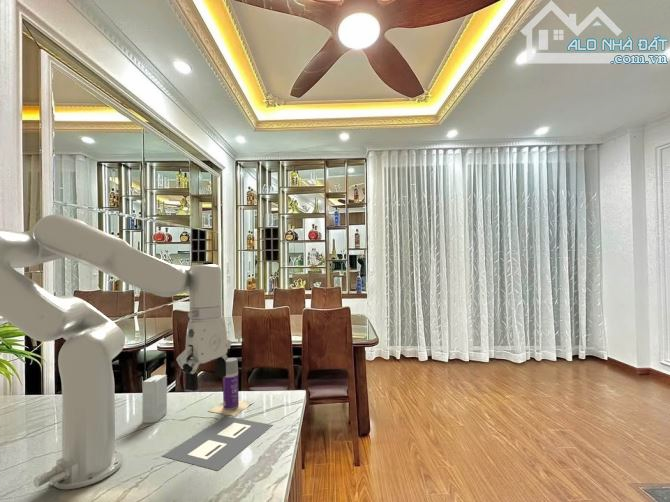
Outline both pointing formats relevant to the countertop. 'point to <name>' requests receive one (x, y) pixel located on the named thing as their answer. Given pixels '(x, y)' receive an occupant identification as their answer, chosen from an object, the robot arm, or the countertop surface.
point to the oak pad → (233, 412)
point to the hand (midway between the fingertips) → (206, 382)
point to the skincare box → (154, 398)
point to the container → (231, 385)
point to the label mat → (218, 442)
